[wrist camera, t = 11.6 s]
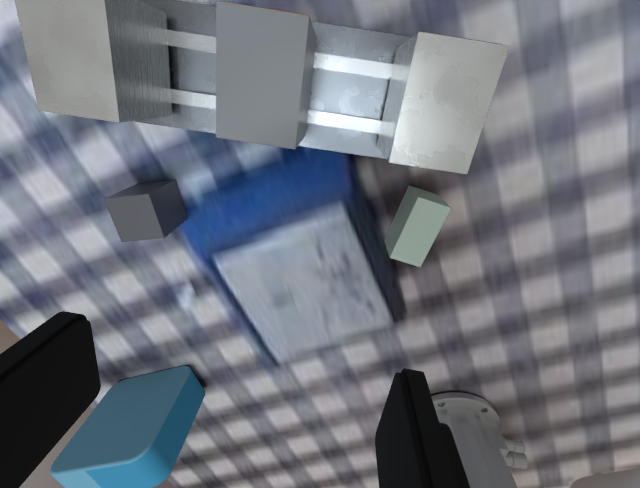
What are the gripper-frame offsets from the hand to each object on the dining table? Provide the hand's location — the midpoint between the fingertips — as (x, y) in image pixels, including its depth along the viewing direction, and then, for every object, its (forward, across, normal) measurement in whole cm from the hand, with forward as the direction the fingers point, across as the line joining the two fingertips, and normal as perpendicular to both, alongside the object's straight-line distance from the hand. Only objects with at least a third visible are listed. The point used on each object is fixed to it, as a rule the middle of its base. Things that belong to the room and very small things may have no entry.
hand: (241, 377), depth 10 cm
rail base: (+22, +4, -9) cm, 24 cm away
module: (+20, +4, -9) cm, 22 cm away
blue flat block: (+24, +16, +29) cm, 41 cm away
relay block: (+23, +14, +3) cm, 27 cm away
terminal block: (+23, -10, +1) cm, 25 cm away
